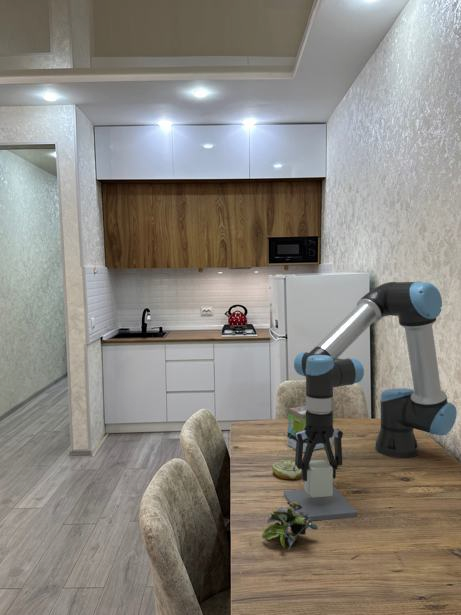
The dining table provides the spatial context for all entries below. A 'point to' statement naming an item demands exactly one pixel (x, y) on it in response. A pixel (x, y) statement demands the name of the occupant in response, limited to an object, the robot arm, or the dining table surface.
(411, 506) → the dining table surface
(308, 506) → the slate plate
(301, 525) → the passion flower
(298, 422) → the tea box
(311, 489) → the sage block
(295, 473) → the decorated donut
